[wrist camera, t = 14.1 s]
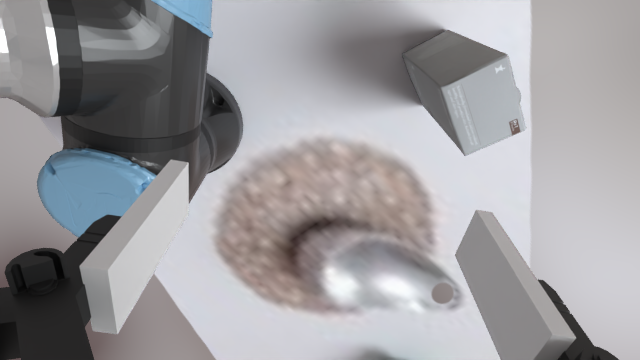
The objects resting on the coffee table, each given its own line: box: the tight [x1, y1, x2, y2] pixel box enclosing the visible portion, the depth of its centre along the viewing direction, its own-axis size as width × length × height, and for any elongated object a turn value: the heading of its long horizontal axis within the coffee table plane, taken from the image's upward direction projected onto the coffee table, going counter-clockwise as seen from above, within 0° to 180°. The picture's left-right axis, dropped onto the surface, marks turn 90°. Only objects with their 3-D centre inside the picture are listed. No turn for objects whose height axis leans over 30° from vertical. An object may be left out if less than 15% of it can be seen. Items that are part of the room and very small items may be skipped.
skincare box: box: [402, 30, 526, 156], centre depth 40 cm, size 8×7×16 cm
